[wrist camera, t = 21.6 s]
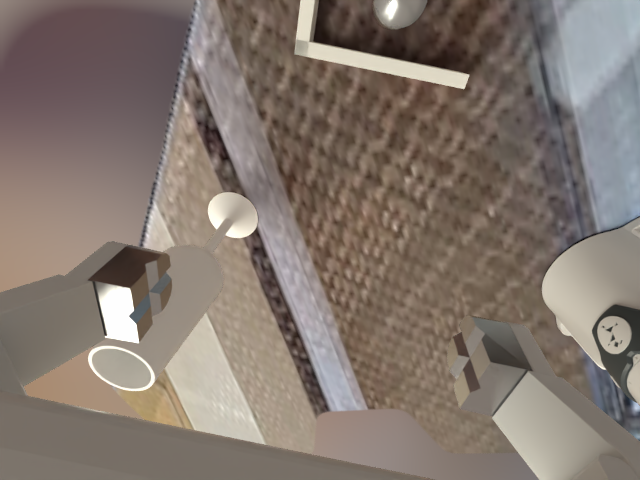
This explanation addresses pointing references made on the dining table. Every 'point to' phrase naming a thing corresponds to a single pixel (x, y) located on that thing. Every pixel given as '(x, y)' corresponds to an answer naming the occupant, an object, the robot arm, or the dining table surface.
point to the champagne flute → (176, 301)
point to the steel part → (397, 12)
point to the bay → (366, 54)
